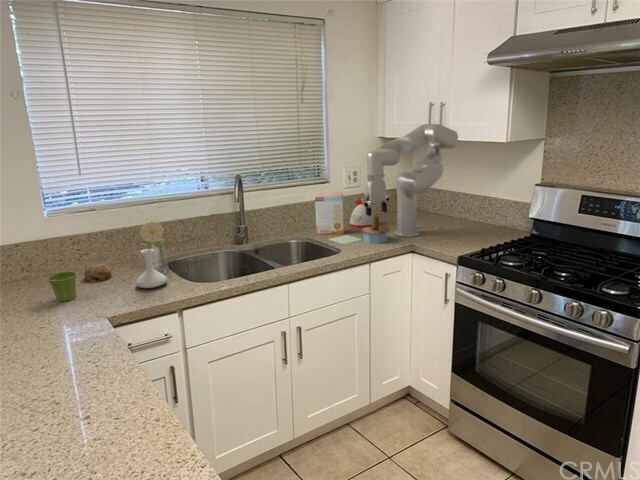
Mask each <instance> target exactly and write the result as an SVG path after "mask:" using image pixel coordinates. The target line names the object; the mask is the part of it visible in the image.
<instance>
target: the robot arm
mask: <svg viewBox="0 0 640 480" xmlns="http://www.w3.org/2000/svg"><path fill="white" fill-rule="evenodd" d="M457 133H458V132H457V131H456V130H454V129H451V128H449V127H447V126H444V125H442V124H438V123H425V124H421V125H420V126H418V127H416V128H415V129H413V130H412V131H410V132H408V133H407V134H405V135H404V136H401V137H397V138H395V139H392V140H390V141H387V142H386V143H384V144H382V145H381V146H379V147H378V148H376V149H375V150H371V151H368V152H367V153H366V166H367V167H366V171H367V173H366V174H367V181H365V186H364V187H365V188H364V196H363V197H362V199H361V198H360V199H361V201H362V203H363V205H364V206H365V207H366V215H368V216H371V215H372V214H371V211H372V204H375V203H379V202H381V204H380V205H381V206H380V207H381V208H380V210H381V212H383V213H388V210H387V208H388V206H387V205H388V203H389V201H390V197H391V193H390V192H387V188H386V187H387V185H386V182H385V179H384V178H385V174H384V166H385V167H386V166H387V167H388V166H389V167H393V166H395V165H397V164H398V163H399V162H400V160H401V154H408V153H409V154H410V153H412V152H414V151H416V150H417V149H419V148H420V147H422V146H424V145H425V144H427V143H428V144H429V145H428V151H427V152H426V153H425V154H423V156H422V157H421V158H419V159H418V160H417V161H416V162H414V164H413V165H412V167H411V171H408V170H407V171H401V172H400V173H398V175H396V178H395V188H396V196H397V197H396V198H397V200H396V201H397V202H396V203H397V204H396V205H397V207H396V208H397V210H396V213H397V214H396V215H397V216H396V230H394V231H393V235H394V236H396V237H400V238H414V237H417V236H419V235H420V232H419V229H423V224H417V211H418V210H417V208H418V199H417V194H423V193H425V192H426V191H428V190H429V189H431V187H432V186H434V184H436V183H437V182H438V181H439V180H440V179H441V177H442V175H443V172H444V166H443V164H442V161H443V150H444V149H446V150H448V149H449V150H454V149H457V148H458V147H459V146H460V144H461V142H462V140H461V141H460V140H457V139H458V135H457Z"/></svg>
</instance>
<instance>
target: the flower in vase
mask: <svg viewBox="0 0 640 480" xmlns="http://www.w3.org/2000/svg"><path fill="white" fill-rule="evenodd" d="M164 231H165V229H164V228H163V226H162V224H161V223H160V222H156V221H152V220H151V221H148V222H146V223H144V224H143V225H142V227H141V228H140V231H139V235H140V237H141V238H142V240H143V241H146V242H150V243H151V245H150V246H149V245H147V244H143V243H141V242H139V244H140V245H144V246H146V247H149V248H145V249H141V250H140V253H141V254H142V256H143V259H144V261H145V266H146V267H145V271H144V272H143V273H142V274H141V275H139V276H138V278H137V279H136V280H135V285H136V286H137V287H138V288H142V289H153V288H158V287H160V286H162V285H164V284H166V282H167V281H168V278H167V276H166V275H164V274H163V273H161V272H159V271H158V270H156V269H155V268H154V266H153V255H154V252H155V249H153V248H152V246H154V247H155V248H161V247H163V246H165V244H164V242H162V241H161V240H160V239H162V236H163V235H164Z"/></svg>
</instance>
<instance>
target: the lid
mask: <svg viewBox="0 0 640 480" xmlns="http://www.w3.org/2000/svg"><path fill="white" fill-rule="evenodd" d="M389 232H390V229H389V228H388V227H386V226H381V225H380V217H379V216H374V217H372V226H370V227H365V228H361V233H366V234H385V233H387V234H388V233H389Z"/></svg>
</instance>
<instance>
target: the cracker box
mask: <svg viewBox="0 0 640 480" xmlns="http://www.w3.org/2000/svg"><path fill="white" fill-rule="evenodd" d="M314 199H315V200H314V203H315V224H316V225H315V226H316V230H315V231H316V235H318V236H319V235H344V233H345V221H344V220H345V219H344V218H345V217H344V216H345V215H344V194H343V192H342V193H341V192H337V193H335V192H332V193H328V192H327V193H325V192H324V193H316V194H315V196H314Z"/></svg>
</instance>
